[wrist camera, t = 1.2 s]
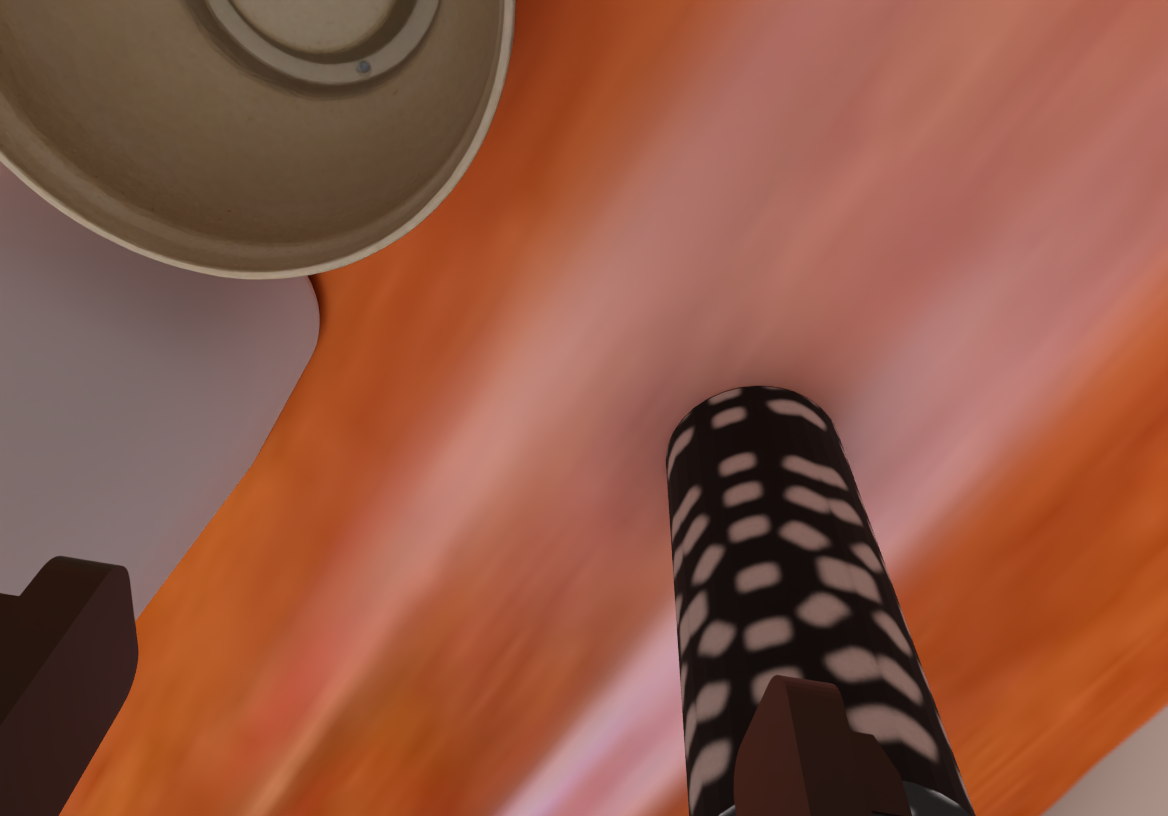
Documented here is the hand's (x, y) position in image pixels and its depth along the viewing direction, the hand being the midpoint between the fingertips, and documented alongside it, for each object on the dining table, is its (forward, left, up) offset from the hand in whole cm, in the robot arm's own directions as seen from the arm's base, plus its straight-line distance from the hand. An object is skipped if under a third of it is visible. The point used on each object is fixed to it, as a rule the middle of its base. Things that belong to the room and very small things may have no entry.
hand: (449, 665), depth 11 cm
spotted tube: (+5, +18, -28) cm, 33 cm away
